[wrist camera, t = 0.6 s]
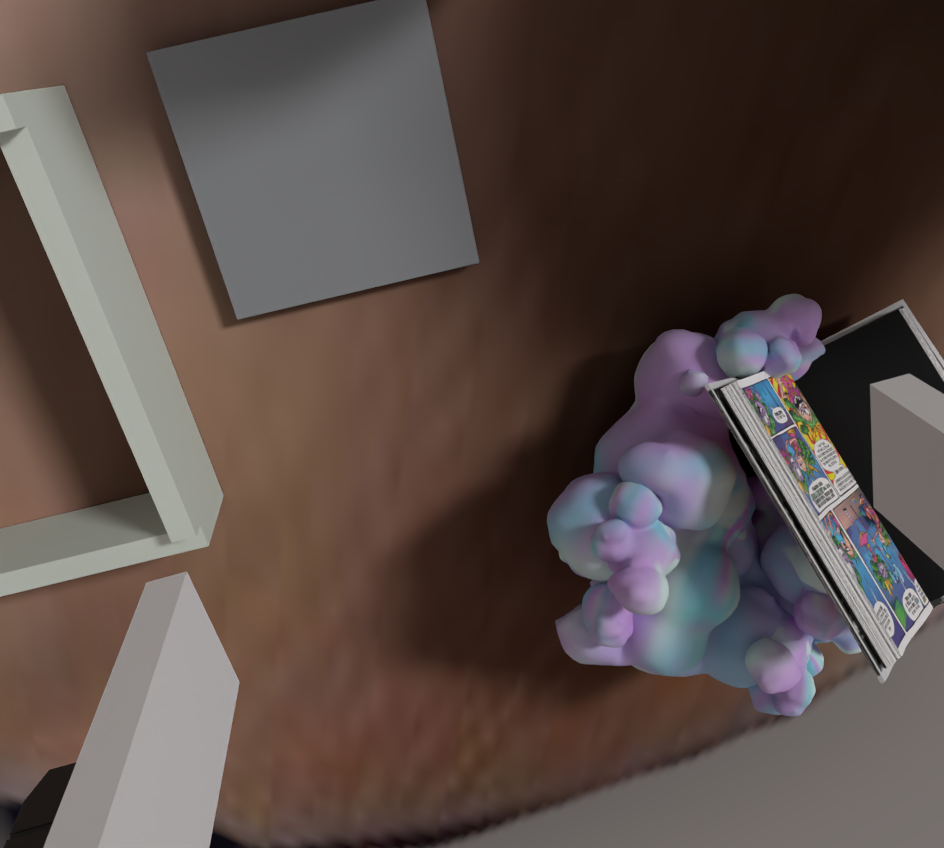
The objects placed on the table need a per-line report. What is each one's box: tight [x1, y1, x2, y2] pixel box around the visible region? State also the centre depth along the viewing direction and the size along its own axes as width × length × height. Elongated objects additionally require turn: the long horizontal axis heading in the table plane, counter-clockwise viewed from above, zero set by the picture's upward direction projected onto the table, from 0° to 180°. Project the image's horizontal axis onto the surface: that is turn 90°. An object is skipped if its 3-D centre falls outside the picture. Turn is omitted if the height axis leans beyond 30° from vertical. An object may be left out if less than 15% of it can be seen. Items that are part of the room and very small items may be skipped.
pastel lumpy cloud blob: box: [547, 294, 944, 716], centre depth 41 cm, size 20×22×18 cm
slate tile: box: [146, 0, 480, 320], centre depth 38 cm, size 12×12×1 cm
